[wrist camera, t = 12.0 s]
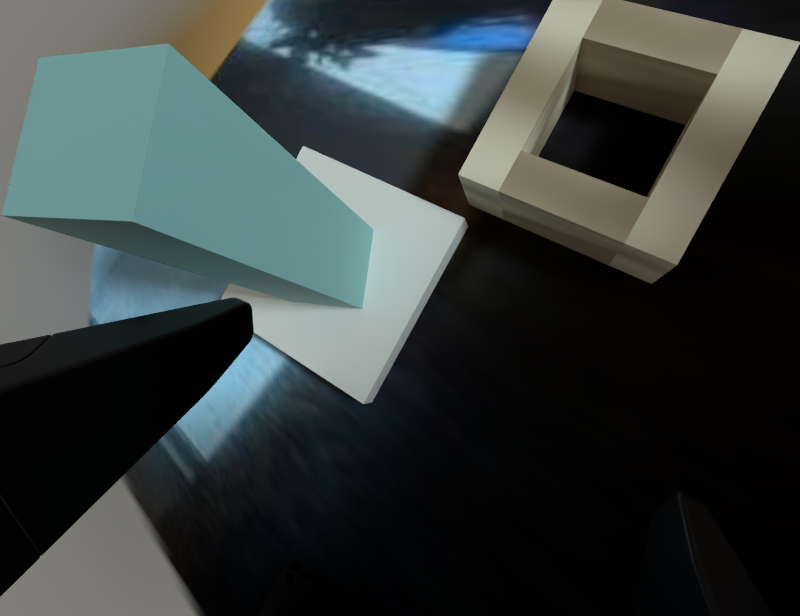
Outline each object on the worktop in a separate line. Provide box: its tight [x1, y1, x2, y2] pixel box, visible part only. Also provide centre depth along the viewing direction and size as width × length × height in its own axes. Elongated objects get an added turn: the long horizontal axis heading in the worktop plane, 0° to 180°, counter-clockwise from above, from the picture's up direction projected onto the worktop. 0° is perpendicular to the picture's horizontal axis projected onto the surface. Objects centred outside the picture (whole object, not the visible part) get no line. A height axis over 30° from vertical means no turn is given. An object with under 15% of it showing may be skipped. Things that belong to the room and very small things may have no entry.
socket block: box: [458, 0, 800, 284], centre depth 19 cm, size 9×9×4 cm
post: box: [2, 44, 374, 309], centre depth 16 cm, size 4×4×13 cm
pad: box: [221, 146, 468, 404], centre depth 23 cm, size 10×10×1 cm
